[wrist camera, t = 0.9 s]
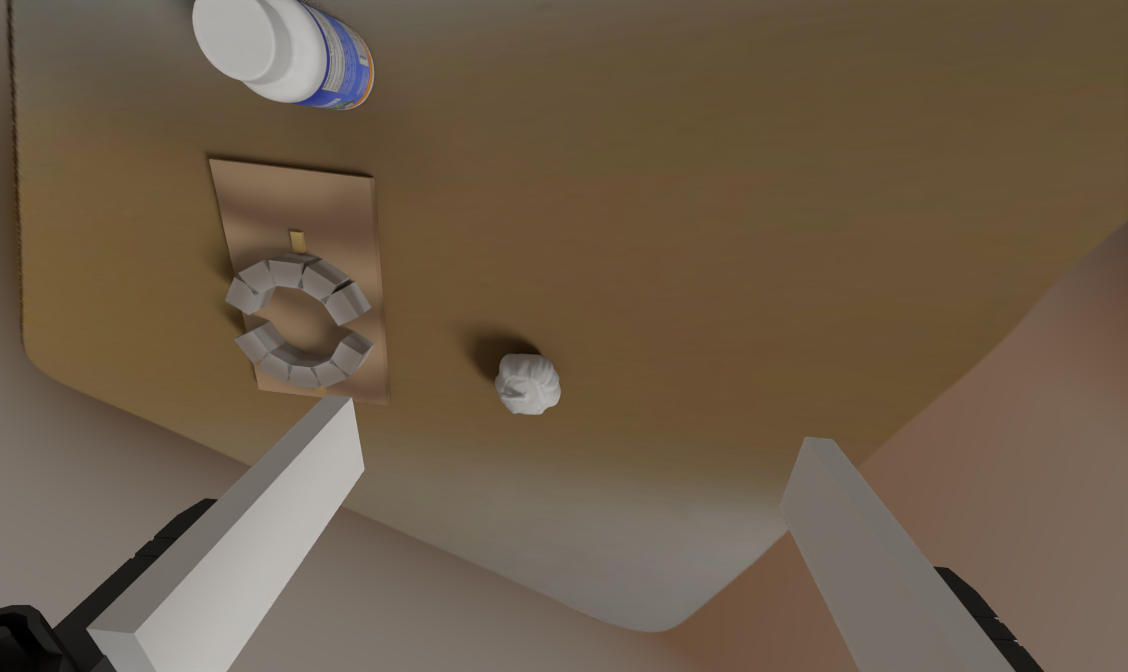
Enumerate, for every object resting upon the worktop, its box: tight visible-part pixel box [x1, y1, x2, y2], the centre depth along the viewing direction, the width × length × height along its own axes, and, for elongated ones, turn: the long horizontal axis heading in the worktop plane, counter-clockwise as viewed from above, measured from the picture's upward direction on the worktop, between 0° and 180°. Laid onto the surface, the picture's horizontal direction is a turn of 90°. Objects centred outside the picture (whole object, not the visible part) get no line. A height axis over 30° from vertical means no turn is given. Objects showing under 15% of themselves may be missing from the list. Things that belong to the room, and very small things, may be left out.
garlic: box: [495, 354, 561, 415], centre depth 36 cm, size 6×5×5 cm
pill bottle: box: [192, 0, 374, 110], centre depth 25 cm, size 5×5×10 cm
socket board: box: [209, 159, 390, 405], centre depth 35 cm, size 20×12×3 cm, turn 174°
